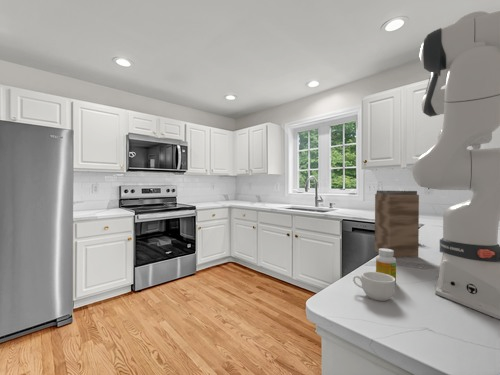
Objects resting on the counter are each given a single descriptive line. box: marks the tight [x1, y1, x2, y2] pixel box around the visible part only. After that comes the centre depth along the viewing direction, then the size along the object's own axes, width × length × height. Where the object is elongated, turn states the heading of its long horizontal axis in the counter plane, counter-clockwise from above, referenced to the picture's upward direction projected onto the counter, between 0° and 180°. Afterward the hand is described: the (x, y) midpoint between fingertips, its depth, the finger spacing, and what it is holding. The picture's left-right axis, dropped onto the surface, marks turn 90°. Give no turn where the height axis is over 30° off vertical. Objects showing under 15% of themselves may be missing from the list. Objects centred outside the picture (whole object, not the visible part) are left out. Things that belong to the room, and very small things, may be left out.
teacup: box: [352, 271, 396, 302], centre depth 65 cm, size 10×8×5 cm
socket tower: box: [374, 190, 420, 258], centre depth 108 cm, size 10×14×28 cm
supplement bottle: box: [375, 248, 397, 285], centre depth 75 cm, size 5×5×10 cm
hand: (461, 158), depth 100 cm, fingers open, 8 cm apart
